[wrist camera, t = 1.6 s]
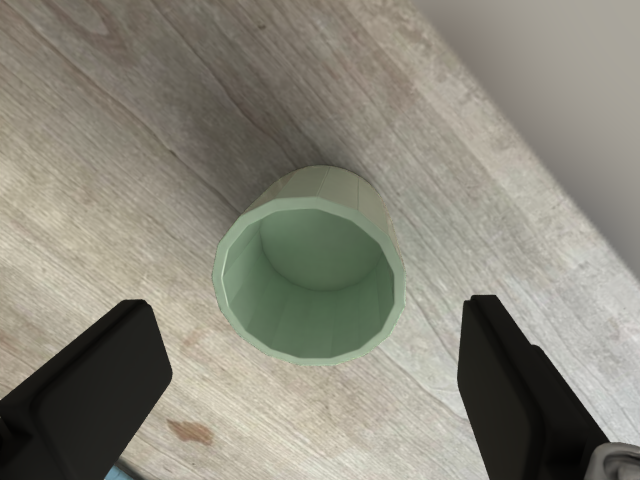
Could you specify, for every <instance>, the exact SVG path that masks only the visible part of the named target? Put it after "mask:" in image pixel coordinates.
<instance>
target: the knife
mask: <svg viewBox="0 0 640 480" xmlns="http://www.w3.org/2000/svg"><path fill="white" fill-rule="evenodd" d="M104 479H105V480H134V479H133V478H131V477H130V476H129V475H127V474H126V473H125V472H123V471H122V470H120V469H119V468H118V467H116V466H115V465H113V467H112V468H111V470H110V471H109V473H108V474H107V476H106V477H105V478H104Z"/></svg>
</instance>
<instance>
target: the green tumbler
mask: <svg viewBox="0 0 640 480" xmlns="http://www.w3.org/2000/svg"><path fill="white" fill-rule="evenodd" d="M212 281H213V285H214V290H215V294H216V298H217V302H218V306H219V308H220V310H221V312H222V313H223V315H224V316H225V317H226V319H227V320H228V321H229V323H230V324H231V326H232V327H233V328H234V330H235V331H236V333H237V334H238V335H239V336H240V337H241V338H243V339H244V340H246V341H247V342H248V343H250V344H251V345H253V346H254V347H256V348H257V349H258V350H260V351H261V352H263V353H264V354H267V355H268V356H271V357H274V358H277V359H280V360H283V361H286V362H289V363H293V364H296V365H300V366H332V365H333V366H334V365H337V364H340V363H344V362H347V361H350V360H353V359H356V358H359V357H362V356H364V355H366V354H368V353H369V352H370V351H371V350H373V349H374V348H375V347H376V346H378V345H379V344H380V343H381V342H383V341H384V340H385V339H386V338H388V337H389V336H390V335H391V333H392V331H393V329H394V327H395V325H396V323H397V321H398V319H399V317H400V315H401V313H402V312H403V310H404V308H405V305H406V271H405V267H404V263H403V259H402V256H401V252H400V248H399V245H398V241H397V237H396V234H395V230H394V226H393V223H392V220H391V217H390V215H389V213H388V210H387V208H386V205H385V203H384V201H383V200H382V198H381V196H380V195H379V194H378V192H377V191H376V190H375V189H374V188H373V187H372V186H371V185H370V184H369V183H368V182H367V181H365V180H364V179H363V178H362V177H360V176H358V175H356V174H355V173H353V172H350V171H348V170H345V169H342V168H338V167H334V166H327V165H315V166H308V167H304V168H300V169H297V170H295V171H292V172H290V173H288V174H286V175H285V176H283V177H282V178H280V179H279V180H277V181H275V182H274V183H273V184H272V185H271V186H270V187H269V188H268V189H267V190H266V191H265V192H264V193H263V194H262V195H261V196H260V197H259V198H258V199H256V200H255V201H254V202H253V203H252V204H251V205H250V206H249V207H248V208H247V209H246V210H245V211H244V212H243V213H242V214H241V215H240V216H239V217H238V219H237V220H236V221H235V222H234V224H233V225H232V226H231V228H230V229H229V230H228V231H227V233H226V234H225V235H224V237H223V238H222V239H221V240H220V242H219V243H218V246H217V251H216V256H215V261H214V266H213V271H212Z"/></svg>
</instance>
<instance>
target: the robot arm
mask: <svg viewBox="0 0 640 480" xmlns="http://www.w3.org/2000/svg"><path fill="white" fill-rule="evenodd" d="M172 375H173V372H172V368H171V365H170V362H169V359H168V356H167V352H166V349H165V346H164V343H163V340H162V337H161V334H160V331H159V328H158V325H157V322H156V319H155V315H154V312H153V309H152V307H151V306H150V305H149V304H147V302H146V301H145V300H142V299H135V300H123V301H121V302H120V303H118V304H117V305H116V306H115V307H114V308H112V309H111V310H110V311H109V312H108V313H106V314H105V315H104V316H103V317H101V318H100V319H99V320H98V321H97V322H95V323H94V324H93V325H92V326H90V327H89V328H88V329H87V330H86V331H84V332H83V333H82V334H81V335H79V336H78V337H77V338H76V339H75V340H73V341H72V342H71V343H70V344H69V345H67V346H66V347H65V348H64V349H62V350H61V351H60V352H59V353H58V354H56V355H55V356H54V357H53V358H51V359H50V360H49V361H48V362H47V363H45V364H44V365H43V366H42V367H40V368H39V369H38V370H37V371H36V372H34V373H33V374H32V375H31V376H29V377H28V378H27V379H26V380H25V381H23V382H22V383H21V384H20V385H19V386H17V387H16V388H15V389H14V390H12V391H11V392H10V393H9V394H8V395H6V396H5V397H4V398H3V399H1V400H0V417H1V418H0V480H104V478H105V477H106V476H107V474H108V473H109V471H110V470H111V468H112V467H113V465H114V464H115V462H116V461H117V460H118V458H119V457H120V455H121V454H122V452H123V451H124V449H125V448H126V446H127V445H128V443H129V442H130V441H131V439H132V438H133V436H134V435H135V433H136V432H137V430H138V429H139V427H140V426H141V425H142V423H143V422H144V420H145V419H146V417H147V416H148V414H149V413H150V411H151V410H152V409H153V407H154V406H155V404H156V403H157V401H158V400H159V398H160V397H161V395H162V394H163V392H164V391H165V390H166V388H167V387H168V385H169V384H170V382H171V379H172ZM457 382H458V388H459V391H460V394H461V397H462V400H463V403H464V406H465V409H466V412H467V415H468V418H469V421H470V424H471V427H472V429H473V432H474V435H475V438H476V441H477V444H478V447H479V450H480V453H481V456H482V459H483V462H484V465H485V467H486V470H487V473H488V476H489V479H490V480H640V447H638V446H636V445H631V444H626V443H621V442H610V441H609V439H608V438H607V437H606V435H605V434H604V433H603V431H602V430H601V428H600V427H599V426H598V424H597V423H596V422H595V420H594V419H593V418H592V416H591V415H590V414H589V412H588V411H587V410H586V408H585V407H584V405H583V404H582V403H581V401H580V400H579V399H578V397H577V396H576V395H575V393H574V392H573V391H572V389H571V388H570V387H569V385H568V384H567V382H566V381H565V380H564V378H563V377H562V376H561V374H560V373H559V372H558V370H557V369H556V368H555V366H554V365H553V363H552V362H551V361H550V359H549V358H548V357H547V355H546V354H545V353H544V351H543V350H542V349H541V348H540V347H539V346H537V345H531V344H530V342H529V341H528V340H527V338H526V337H525V335H524V334H523V333H522V331H521V330H520V328H519V327H518V326H517V324H516V323H515V321H514V320H513V318H512V317H511V316H510V314H509V313H508V311H507V310H506V309H505V307H504V306H503V304H502V303H501V301H500V300H499V299H498V297H497V296H496V295H472V296H471V299H470V300H465V301H464V304H463V315H462V326H461V338H460V349H459V361H458V372H457Z"/></svg>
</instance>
